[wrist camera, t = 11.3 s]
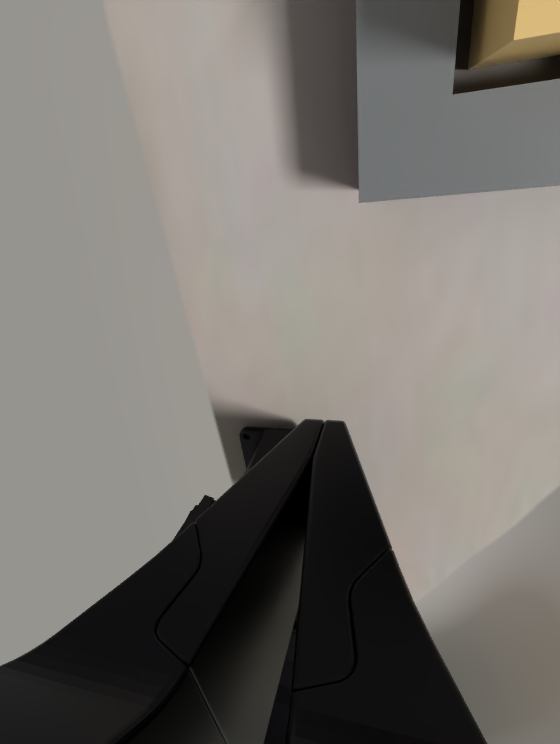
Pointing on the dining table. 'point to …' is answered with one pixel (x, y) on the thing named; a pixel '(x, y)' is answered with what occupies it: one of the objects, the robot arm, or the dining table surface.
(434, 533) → the dining table surface
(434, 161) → the socket
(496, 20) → the plug
